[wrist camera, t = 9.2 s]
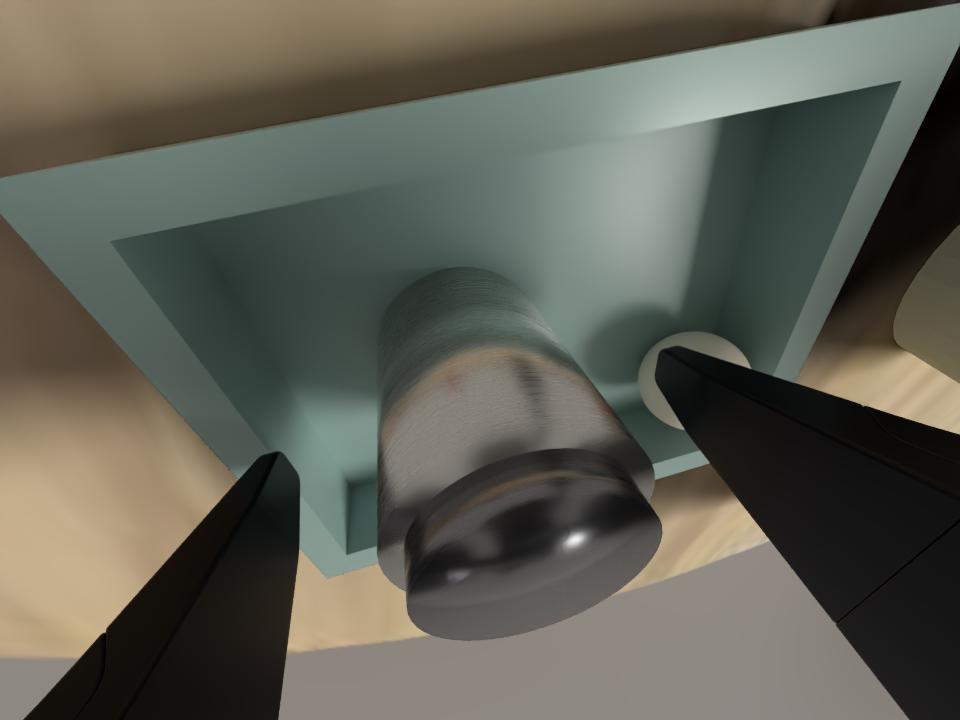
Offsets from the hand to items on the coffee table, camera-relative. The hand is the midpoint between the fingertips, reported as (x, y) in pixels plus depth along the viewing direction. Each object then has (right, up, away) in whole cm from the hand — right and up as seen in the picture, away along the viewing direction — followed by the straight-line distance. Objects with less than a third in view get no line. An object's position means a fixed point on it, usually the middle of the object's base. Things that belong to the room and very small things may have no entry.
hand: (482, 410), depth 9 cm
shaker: (-1, +2, +2) cm, 3 cm away
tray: (+1, +2, +3) cm, 4 cm away
